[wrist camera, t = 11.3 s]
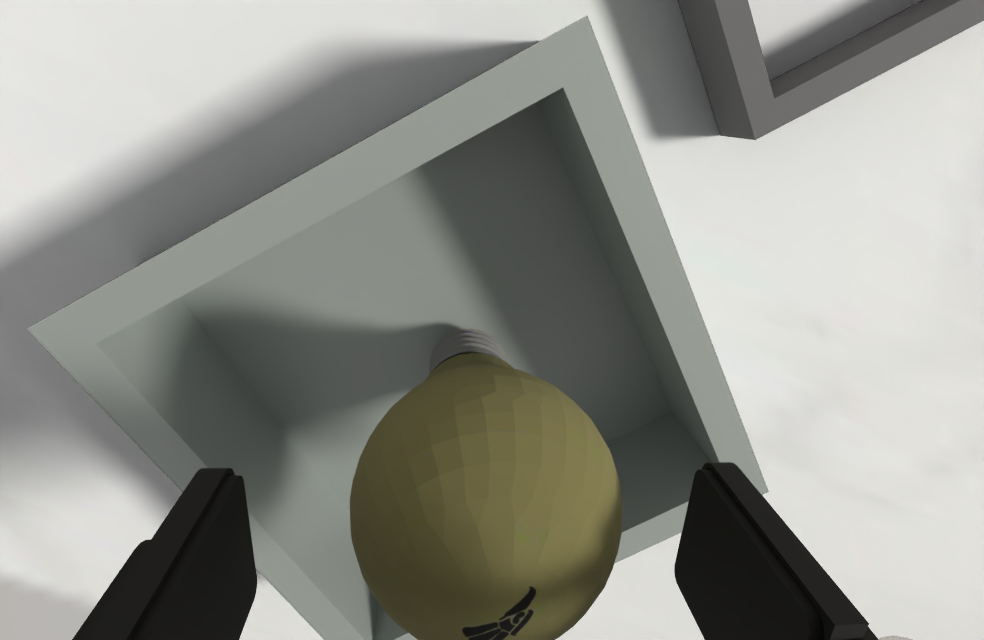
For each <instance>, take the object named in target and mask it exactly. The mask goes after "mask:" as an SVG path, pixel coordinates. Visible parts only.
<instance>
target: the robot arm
mask: <svg viewBox="0 0 984 640" xmlns="http://www.w3.org/2000/svg"><path fill="white" fill-rule="evenodd" d="M675 578H676V582H677V584H678V586H679V588H680V591H681V593H682V595H683V597H684V599H685V601H686V603H687V605H688V607H689V609H690V611H691V613H692V615H693V617H694V619H695V621H696V623H697V625H698V627H699V629H700V631H701V633H702V635H703V637H704V639H705V640H912V639H909V638H905V637H898V636H887V637H881V638H880V639H878V638H877V637H876V636H875V635H874V634H873V632H872V631H871V630H870V629H869V627H868V625H869V623H868V622H867V621H866V620H865V618H864V617H863V616H862V615H861V614H860V612H859V611H858V610H857V609H856V608H855V606H854V605H853V604H852V603H851V602H850V600H849V599H848V598H847V597H846V596H845V594H844V593H843V592H842V591H841V590H840V588H839V587H838V586H837V585H836V584H835V582H834V581H833V580H832V579H831V578H830V576H829V575H828V574H827V573H826V572H825V570H824V569H823V568H822V567H821V566H820V564H819V563H818V562H817V561H816V560H815V558H814V557H813V556H812V555H811V554H810V552H809V551H808V550H807V549H806V548H805V546H804V545H803V544H802V543H801V542H800V540H799V539H798V538H797V537H796V536H795V534H794V533H793V532H792V531H791V530H790V528H789V527H788V526H787V525H786V524H785V522H784V521H783V520H782V519H781V518H780V516H779V515H778V514H777V513H776V512H775V510H774V509H773V508H772V507H771V506H770V504H769V503H768V502H767V501H766V500H765V498H764V497H763V496H762V495H761V494H760V492H759V491H758V490H757V489H756V488H755V486H754V485H753V484H752V483H751V482H750V480H749V479H748V478H747V477H746V475H745V474H744V473H743V472H742V471H741V469H740V468H739V467H738V466H737V465H736V464H735V463H732V462H714V463H705V464H704V465H703V467H702V470H697V471H696V472H695V475H694V479H693V484H692V489H691V493H690V498H689V502H688V507H687V512H686V516H685V521H684V525H683V530H682V535H681V539H680V544H679V548H678V553H677V558H676V562H675ZM256 588H257V575H256V568H255V560H254V553H253V545H252V538H251V530H250V523H249V515H248V507H247V500H246V492H245V485H244V479H243V477H242V476H241V475H235V474H234V471H233V469H231V468H201V469H199V470H198V471H197V472H196V474H195V475H194V477H193V478H192V480H191V481H190V483H189V484H188V486H187V487H186V489H185V490H184V492H183V493H182V495H181V496H180V498H179V499H178V501H177V502H176V503H175V505H174V506H173V508H172V509H171V511H170V512H169V514H168V515H167V517H166V518H165V520H164V521H163V523H162V524H161V526H160V527H159V529H158V530H157V532H156V533H155V535H154V536H153V538H152V539H151V540H145V541H143V542H141V543H140V544H139V545H138V546H137V547H136V549H135V550H134V551H133V553H132V554H131V556H130V557H129V558H128V560H127V561H126V563H125V564H124V566H123V567H122V569H121V570H120V571H119V573H118V574H117V576H116V577H115V579H114V580H113V582H112V583H111V584H110V586H109V587H108V589H107V590H106V592H105V593H104V595H103V596H102V597H101V599H100V600H99V602H98V603H97V605H96V606H95V608H94V609H93V610H92V612H91V613H90V615H89V616H88V618H87V619H86V621H85V622H84V624H83V625H82V626H81V628H80V629H79V631H78V632H77V634H76V635H75V637H74V638H73V639H72V640H239V638H240V635H241V633H242V630H243V627H244V625H245V622H246V619H247V617H248V614H249V612H250V609H251V606H252V604H253V601H254V598H255V594H256Z"/></svg>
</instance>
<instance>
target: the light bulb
mask: <svg viewBox="0 0 984 640" xmlns="http://www.w3.org/2000/svg"><path fill="white" fill-rule="evenodd" d="M429 371H430V374H429V375H428V377H427V378H426V379H425V381H424V382H423V383H421V384H419V385H417V386H416V387H414V388H413V389H412V390H411V391H409V392H408V393H407V394H406V395H405V396H403V397H402V398H401V399H400V400H399V401H398V402H397V403H395V404H394V405H393V406H392V407H391V408H390V409H389V410H388V412H387V413H386V414H385V416H384V417H383V418H382V419H381V421H380V422H379V423H378V425H377V426H376V428H375V429H374V431H373V432H372V434H371V435H370V437H369V439H368V441H367V443H366V445H365V447H364V449H363V452H362V454H361V456H360V458H359V461H358V465H357V468H356V471H355V475H354V478H353V482H352V488H351V495H350V529H351V539H352V544H353V547H354V551H355V554H356V557H357V561H358V564H359V567H360V570H361V573H362V576H363V578H364V580H365V582H366V583H367V585H368V587H369V588H370V590H371V592H372V593H373V595H374V597H375V598H376V600H377V601H378V602H379V604H380V605H381V607H382V608H383V610H384V611H385V612H386V613H387V614H388V615H389V616H390V617H391V618H392V619H393V620H394V621H395V623H396V624H397V625H399V626H400V627H401V628H403V629H404V630H405V631H407V632H408V633H409V634H411V635H412V636H414V637H415V638H416V639H418V640H555V639H557V638H558V637H560V636H561V635H562V634H564V633H565V632H566V631H568V630H569V629H570V628H572V627H573V626H574V625H575V624H576V623H577V622H578V621H579V620H580V619H581V618H582V617H583V616H584V615H585V614H586V612H587V611H588V610H589V608H590V607H591V605H592V604H593V603H594V601H595V600H596V598H597V597H598V596H599V594H600V593H601V591H602V590H603V589H604V587H605V585H606V582H607V580H608V578H609V576H610V573H611V571H612V568H613V565H614V562H615V559H616V556H617V553H618V550H619V545H620V539H621V534H622V514H623V504H622V493H621V485H620V481H619V477H618V474H617V471H616V467H615V464H614V461H613V458H612V455H611V452H610V450H609V448H608V446H607V444H606V443H605V441H604V439H603V438H602V436H601V434H600V433H599V431H598V429H597V428H596V426H595V425H594V423H593V421H592V420H591V418H590V417H589V416H588V415H587V414H586V413H585V412H584V411H583V410H582V409H581V408H580V407H579V406H578V405H577V404H576V403H575V402H574V401H573V400H572V399H570V398H569V397H568V396H567V395H566V394H564V393H563V392H562V391H561V390H559V389H558V388H557V387H555V386H553V385H552V384H550V383H548V382H546V381H544V380H542V379H540V378H538V377H536V376H533V375H531V374H528V373H526V372H523V371H521V370H518V369H514V368H513V367H512V366H511V365H510V364H508V363H507V360H506V356H505V354H504V351H503V349H502V347H501V345H500V344H499V343H498V341H497V340H496V339H495V338H493V337H492V336H491V335H489V334H487V333H485V332H483V331H481V330H476V329H462V330H458V331H454V332H452V333H450V334H448V335H446V336H445V337H444V338H442V339H441V340H440V341H439V342H438V343H437V345H436V346H435V347H434V349H433V351H432V354H431V357H430V370H429Z"/></svg>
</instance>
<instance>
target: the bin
mask: <svg viewBox="0 0 984 640" xmlns="http://www.w3.org/2000/svg"><path fill="white" fill-rule="evenodd" d="M462 329H476V330H481V331H483V332H485V333H487V334H489V335H491V336H492V337H493V338H495V339H496V340H497V341H498V343H499V344H500V345H501V347H502V349H503V351H504V354H505V356H506V360H507V363H508V364H510V365H511V366H512V367H513V368H514V369H518V370H521V371H523V372H526V373H528V374H531V375H533V376H536V377H538V378H540V379H542V380H544V381H546V382H548V383H550V384H552V385H553V386H555V387H557V388H558V389H559V390H561V391H562V392H563V393H564V394H566V395H567V396H568V397H569V398H570V399H572V400H573V401H574V402H575V403H576V404H577V405H578V406H579V407H580V408H581V409H582V410H583V411H584V412H585V413H586V414H587V415H588V416H589V417H590V418H591V420H592V421H593V423H594V425H595V426H596V428H597V429H598V431H599V433H600V434H601V436H602V438H603V439H604V441H605V443H606V444H607V446H608V448H609V450H610V452H611V455H612V458H613V461H614V464H615V467H616V471H617V474H618V477H619V481H620V485H621V493H622V504H623V514H622V534H621V539H620V545H619V550H618V553H617V556H616V559H615V562H614V563H616V562H618V561H621V560H623V559H625V558H627V557H629V556H631V555H633V554H636V553H638V552H640V551H642V550H644V549H646V548H649V547H651V546H653V545H655V544H657V543H659V542H661V541H664V540H666V539H668V538H670V537H672V536H674V535H677V534H679V533H681V532H682V530H683V525H684V521H685V516H686V512H687V507H688V502H689V498H690V493H691V489H692V484H693V479H694V475H695V472H696V471H697V470H702V467H703V465H704V464H705V463H714V462H732V463H735V464H736V465H737V466H738V467H739V468H740V469H741V471H742V472H743V473H744V474H745V475H746V477H747V478H748V479H749V480H750V482H751V483H752V484H753V485H754V486H755V488H756V489H757V490H758V491H759V492H760V494H761V495H763V494H765V493H767V492H769V491H768V489H767V486H766V484H765V481H764V478H763V476H762V473H761V470H760V468H759V465H758V463H757V460H756V457H755V455H754V452H753V449H752V447H751V444H750V442H749V439H748V436H747V434H746V431H745V428H744V426H743V423H742V421H741V418H740V415H739V413H738V410H737V407H736V405H735V402H734V399H733V397H732V394H731V392H730V389H729V386H728V384H727V381H726V378H725V376H724V373H723V371H722V368H721V365H720V363H719V360H718V357H717V355H716V352H715V350H714V347H713V344H712V342H711V339H710V336H709V334H708V331H707V329H706V326H705V323H704V321H703V318H702V315H701V313H700V310H699V308H698V305H697V302H696V300H695V297H694V294H693V292H692V289H691V287H690V284H689V281H688V279H687V276H686V273H685V271H684V268H683V266H682V263H681V260H680V258H679V255H678V252H677V250H676V247H675V244H674V242H673V239H672V237H671V234H670V231H669V229H668V226H667V223H666V221H665V218H664V216H663V213H662V210H661V208H660V205H659V202H658V200H657V197H656V195H655V192H654V189H653V187H652V184H651V181H650V179H649V176H648V174H647V171H646V168H645V166H644V163H643V160H642V158H641V155H640V153H639V150H638V147H637V145H636V142H635V139H634V137H633V134H632V132H631V129H630V126H629V124H628V121H627V118H626V116H625V113H624V111H623V108H622V105H621V103H620V100H619V97H618V95H617V92H616V89H615V87H614V84H613V82H612V79H611V76H610V74H609V71H608V68H607V66H606V63H605V61H604V58H603V55H602V53H601V50H600V47H599V45H598V42H597V40H596V37H595V34H594V32H593V29H592V26H591V24H590V21H589V19H588V16H586V17H584V18H582V19H580V20H578V21H576V22H575V23H573V24H571V25H569V26H567V27H565V28H563V29H562V30H560V31H558V32H556V33H554V34H552V35H551V36H549V37H547V38H545V39H543V40H541V41H539V42H538V43H536V44H534V45H532V46H531V47H529V48H527V49H525V50H523V51H522V52H520V53H518V54H516V55H514V56H513V57H511V58H509V59H507V60H505V61H504V62H502V63H500V64H498V65H496V66H495V67H493V68H491V69H489V70H488V71H486V72H484V73H482V74H480V75H479V76H477V77H475V78H473V79H471V80H470V81H468V82H466V83H464V84H462V85H461V86H459V87H457V88H455V89H454V90H452V91H450V92H448V93H446V94H445V95H443V96H441V97H439V98H437V99H436V100H434V101H432V102H430V103H428V104H427V105H425V106H423V107H421V108H419V109H418V110H416V111H414V112H412V113H411V114H409V115H407V116H405V117H403V118H402V119H400V120H398V121H396V122H394V123H393V124H391V125H389V126H387V127H385V128H384V129H382V130H380V131H378V132H376V133H375V134H373V135H371V136H369V137H368V138H366V139H364V140H362V141H360V142H359V143H357V144H355V145H353V146H351V147H350V148H348V149H346V150H344V151H342V152H341V153H339V154H337V155H335V156H333V157H332V158H330V159H328V160H326V161H325V162H323V163H321V164H319V165H317V166H316V167H314V168H312V169H310V170H308V171H307V172H305V173H303V174H301V175H299V176H298V177H296V178H294V179H292V180H291V181H289V182H287V183H285V184H283V185H282V186H280V187H278V188H276V189H274V190H273V191H271V192H269V193H267V194H265V195H264V196H262V197H260V198H258V199H256V200H255V201H253V202H251V203H249V204H248V205H246V206H244V207H242V208H240V209H239V210H237V211H235V212H233V213H231V214H230V215H228V216H226V217H224V218H222V219H221V220H219V221H217V222H215V223H213V224H212V225H210V226H208V227H206V228H205V229H203V230H201V231H199V232H197V233H196V234H194V235H192V236H190V237H188V238H187V239H185V240H183V241H181V242H179V243H178V244H176V245H174V246H172V247H170V248H169V249H167V250H165V251H163V252H162V253H160V254H158V255H156V256H154V257H153V258H151V259H149V260H147V261H145V262H144V263H142V264H140V265H138V266H136V267H135V268H133V269H131V270H129V271H128V272H126V273H124V274H122V275H121V276H119V277H117V278H115V279H113V280H112V281H110V282H108V283H106V284H105V285H103V286H101V287H99V288H98V289H96V290H94V291H92V292H90V293H89V294H87V295H85V296H83V297H82V298H80V299H78V300H76V301H75V302H73V303H71V304H69V305H67V306H66V307H64V308H62V309H60V310H59V311H57V312H55V313H53V314H51V315H50V316H48V317H46V318H44V319H43V320H41V321H39V322H37V323H36V324H34V325H32V326H30V327H28V328H27V330H28V331H29V332H30V333H31V334H32V335H33V336H34V337H35V338H36V339H37V340H38V341H39V343H40V344H41V345H42V346H43V347H44V348H45V349H46V350H47V351H48V352H49V353H50V354H51V355H52V356H53V357H54V358H55V359H56V360H57V361H58V362H59V363H60V364H61V365H62V367H63V368H64V369H65V370H66V371H67V372H68V373H69V374H70V375H71V376H72V377H73V378H74V379H75V380H76V381H77V382H78V383H79V384H80V385H81V386H82V387H83V388H84V390H85V391H86V392H87V393H88V394H89V395H90V396H91V397H92V398H93V399H94V400H95V401H96V402H97V403H98V404H99V405H100V406H101V407H102V408H103V409H104V410H105V411H106V412H107V414H108V415H109V416H110V417H111V418H112V419H113V420H114V421H115V422H116V423H117V424H118V425H119V426H120V427H121V428H122V429H123V430H124V431H125V432H126V433H127V434H128V435H129V436H130V438H131V439H132V440H133V441H134V442H135V443H136V444H137V445H138V446H139V447H140V448H141V449H142V450H143V451H144V452H145V453H146V454H147V455H148V456H149V457H150V458H151V459H152V460H153V462H154V463H155V464H156V465H157V466H158V467H159V468H160V469H161V470H162V471H163V472H164V473H165V474H166V475H167V476H168V477H169V478H170V479H171V480H172V481H173V482H174V483H175V484H176V486H177V487H178V488H179V489H180V490H181V491H182V492H184V490H185V489H186V487H187V486H188V484H189V483H190V481H191V480H192V478H193V477H194V475H195V474H196V472H197V471H198V470H199V469H201V468H231V469H233V471H234V474H235V475H241V476H242V477H243V479H244V485H245V492H246V500H247V507H248V515H249V523H250V530H251V538H252V545H253V553H254V560H255V568H256V569H257V570H258V571H259V572H260V573H261V574H262V575H263V576H264V577H265V578H266V579H267V581H268V582H269V583H270V584H271V585H272V586H273V587H274V588H275V589H276V590H277V591H278V592H279V593H280V594H281V595H282V596H283V597H284V598H285V599H286V600H287V601H288V602H289V603H290V605H291V606H292V607H293V608H294V609H295V610H296V611H297V612H298V613H299V614H300V615H301V616H302V617H303V618H304V619H305V620H306V621H307V622H308V623H309V624H310V625H311V626H312V627H313V629H314V630H315V631H316V632H317V633H318V634H319V635H320V636H321V637H322V638H323V639H324V640H418V639H416V638H415V637H414V636H412V635H411V634H409V633H408V632H407V631H405V630H404V629H403V628H401V627H400V626H399V625H397V624H396V623H395V621H394V620H393V619H392V618H391V617H390V616H389V615H388V614H387V613H386V612H385V611H384V610H383V608H382V607H381V605H380V604H379V602H378V601H377V600H376V598H375V597H374V595H373V593H372V592H371V590H370V588H369V587H368V585H367V583H366V582H365V580H364V578H363V576H362V573H361V570H360V567H359V564H358V561H357V557H356V554H355V551H354V547H353V544H352V539H351V529H350V495H351V488H352V482H353V478H354V475H355V471H356V468H357V465H358V461H359V458H360V456H361V454H362V452H363V449H364V447H365V445H366V443H367V441H368V439H369V437H370V435H371V434H372V432H373V431H374V429H375V428H376V426H377V425H378V423H379V422H380V421H381V419H382V418H383V417H384V416H385V414H386V413H387V412H388V410H389V409H390V408H391V407H392V406H393V405H394V404H395V403H397V402H398V401H399V400H400V399H401V398H402V397H403V396H405V395H406V394H407V393H408V392H409V391H411V390H412V389H413V388H414V387H416V386H417V385H419V384H421V383H423V382H424V381H425V379H426V378H427V377H428V375H429V374H430V371H429V370H430V357H431V354H432V351H433V349H434V347H435V346H436V345H437V343H438V342H439V341H440V340H441V339H442V338H444V337H445V336H446V335H448V334H450V333H452V332H454V331H458V330H462Z"/></svg>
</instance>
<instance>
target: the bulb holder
mask: <svg viewBox="0 0 984 640" xmlns="http://www.w3.org/2000/svg"><path fill="white" fill-rule="evenodd" d="M678 2H679V5H680V9H681V12H682V15H683V18H684V21H685V24H686V28H687V31H688V34H689V37H690V40H691V43H692V47H693V50H694V53H695V56H696V59H697V62H698V65H699V69H700V72H701V75H702V78H703V81H704V84H705V88H706V91H707V94H708V97H709V100H710V103H711V106H712V110H713V113H714V116H715V119H716V122H717V125H718V129H719V132H720V135H721V136H728V137H736V138H744V139H753V140H756V139H758V138H760V137H762V136H764V135H766V134H767V133H769V132H771V131H773V130H775V129H777V128H779V127H781V126H783V125H785V124H787V123H789V122H790V121H792V120H794V119H796V118H798V117H800V116H802V115H804V114H806V113H808V112H810V111H811V110H813V109H815V108H817V107H819V106H821V105H823V104H825V103H827V102H829V101H831V100H833V99H834V98H836V97H838V96H840V95H842V94H844V93H846V92H848V91H850V90H852V89H854V88H855V87H857V86H859V85H861V84H863V83H865V82H867V81H869V80H871V79H873V78H875V77H877V76H878V75H880V74H882V73H884V72H886V71H888V70H890V69H892V68H894V67H896V66H898V65H899V64H901V63H903V62H905V61H907V60H909V59H911V58H913V57H915V56H917V55H919V54H921V53H922V52H924V51H926V50H928V49H930V48H932V47H934V46H936V45H938V44H940V43H942V42H943V41H945V40H947V39H949V38H951V37H953V36H955V35H957V34H959V33H961V32H963V31H964V30H966V29H968V28H970V27H972V26H974V25H976V24H978V23H980V22H982V21H984V0H922V1H920V2H918V3H917V4H915V5H913V6H911V7H909V8H907V9H905V10H903V11H901V12H900V13H898V14H896V15H894V16H892V17H890V18H888V19H886V20H885V21H883V22H881V23H879V24H877V25H875V26H873V27H871V28H869V29H868V30H866V31H864V32H862V33H860V34H858V35H856V36H854V37H853V38H851V39H849V40H847V41H845V42H843V43H841V44H839V45H837V46H836V47H834V48H832V49H830V50H828V51H826V52H824V53H822V54H821V55H819V56H817V57H815V58H813V59H811V60H809V61H807V62H805V63H804V64H802V65H800V66H798V67H796V68H794V69H792V70H790V71H789V72H787V73H785V74H783V75H781V76H779V77H777V78H775V79H773V80H772V81H769V77H768V73H767V70H766V66H765V62H764V59H763V55H762V51H761V47H760V44H759V40H758V36H757V33H756V29H755V25H754V22H753V18H752V14H751V10H750V7H749V3H748V0H678Z"/></svg>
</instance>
